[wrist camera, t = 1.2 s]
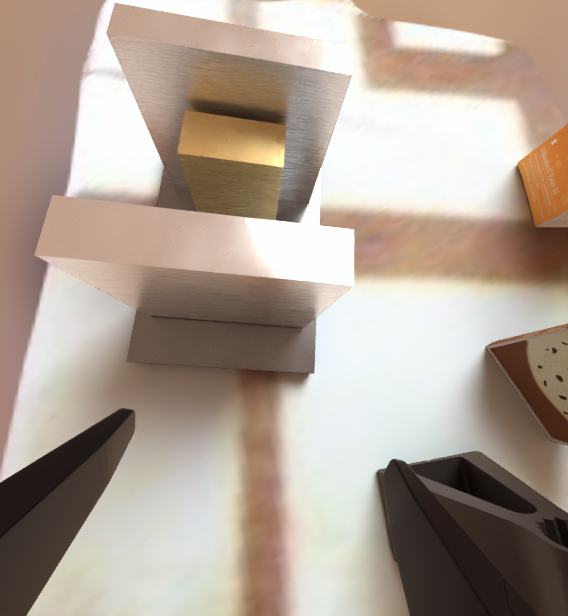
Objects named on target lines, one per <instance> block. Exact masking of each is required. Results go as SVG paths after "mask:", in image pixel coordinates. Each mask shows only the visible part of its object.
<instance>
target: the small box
mask: <svg viewBox="0 0 568 616" xmlns="http://www.w3.org/2000/svg"><path fill="white" fill-rule="evenodd" d="M518 167H519V170H520V173H521V176H522V179H523V183H524V187H525V190H526V193H527V197H528V201H529V204H530V208H531V212H532V215H533V219H534V226H535V227H568V124H567V125H566V126H564V127H563V128H562V129H560V130H559V131H558V132H557V133H555V134H554V135H553V136H551V137H550V138H549V139H548V140H546V141H545V142H544V143H543V144H541V145H540V146H539V147H537V148H536V149H535V150H534V151H532V152H531V153H530V154H528V155H527V156H526V157H524V158H523V159H522V160H521V161H519V162H518Z"/></svg>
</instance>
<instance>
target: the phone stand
mask: <svg viewBox="0 0 568 616" xmlns="http://www.w3.org/2000/svg"><path fill="white" fill-rule="evenodd" d="M407 465H408V466H409V467H410V468H411V469H412V470H413V472H414V473H415V474H416V475H417V476H418V477H419V478H420V480H421V481H422V482H423V483H424V484H425V485H426V487H427V488H428V489H429V490H430V491H431V492H432V493H433V495H434V496H435V497H436V498H437V499H438V500H439V501H440V503H441V504H442V505H443V506H444V507H445V508H446V510H447V511H448V512H449V513H450V514H451V515H452V516H453V518H454V519H455V520H456V521H457V522H458V523H459V525H460V526H461V527H462V528H463V529H464V530H465V531H466V533H467V534H468V535H469V536H470V537H471V538H472V540H473V541H474V542H475V543H476V544H477V545H478V546H479V548H480V549H481V550H482V551H483V552H484V553H485V555H486V556H487V557H488V558H489V559H490V560H491V561H492V563H493V564H494V565H495V566H496V567H497V568H498V570H499V571H500V572H501V573H502V575H503V577H505V578H506V579H507V580H508V581H509V582H510V583H511V584H512V586H513V587H514V588H515V589H516V590H517V591H518V592H519V594H520V595H521V596H522V597H523V598H524V599H525V600H526V601H527V603H528V604H529V605H530V606H531V607H532V608H533V609H534V610H535V612H536V613H537V614H538V615H539V616H568V513H567V512H565V511H563V510H562V509H560V508H559V507H557V506H556V505H555V504H553V503H552V502H550V501H549V500H547V499H546V498H545V497H543V496H542V495H540V494H539V493H538V492H536V491H535V490H533V489H532V488H531V487H529V486H528V485H526V484H525V483H524V482H522V481H521V480H519V479H518V478H516V477H515V476H514V475H512V474H511V473H509V472H508V471H507V470H505V469H504V468H502V467H501V466H500V465H498V464H497V463H495V462H494V461H493V460H491V459H490V458H488V457H487V456H486V455H484V454H483V453H481V452H477V451H474V452H469V453H463V454H458V455H453V456H448V457H442V458H437V459H432V460H430V461H421V462H416V463H411V464H407ZM385 470H386V468H384V469H380V470H378V472H379V478H380V483H381V489H382V494H383V500H384V505H385V511H386V516H387V522H388V527H389V521H388V514H387V507H386V500H385V493H384V486H383V474H384V471H385ZM389 533H390V538H391V544H392V549H393V555H394V560H395V561H396V562H397V558H396V554H395V550H394V546H393V541H392V537H391V532H390V527H389Z"/></svg>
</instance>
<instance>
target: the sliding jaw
mask: <svg viewBox="0 0 568 616" xmlns="http://www.w3.org/2000/svg"><path fill="white" fill-rule="evenodd" d="M35 256H37V257H39V258H41V259H43V260H45V261H47V262H48V263H50V264H52V265H54V266H56V267H58V268H60V269H62V270H63V271H65V272H67V273H69V274H71V275H73V276H75V277H77V278H79V279H80V280H82V281H84V282H86V283H88V284H90V285H92V286H94V287H95V288H97V289H99V290H101V291H103V292H105V293H107V294H109V295H110V296H112V297H114V298H116V299H118V300H120V301H122V302H124V303H126V304H127V305H129V306H131V307H133V308H135V309H137V310H139V311H141V312H142V313H144V314H146V315H150V316H162V317H175V318H187V319H200V320H213V321H225V322H238V323H251V324H263V325H276V326H288V327H301V328H304V327H306V326H307V325H308V324H309V323H310V322H312V321H313V320H314V319H315V318H316V317H317V316H319V315H320V314H321V313H322V312H323V311H324V310H326V309H327V308H328V307H329V306H330V305H332V304H333V303H334V302H335V301H336V300H337V299H339V298H340V297H341V296H342V295H343V294H344V293H346V292H347V291H348V290H349V289H350V288H352V287H353V286H354V230H350V229H342V228H333V227H324V226H316V225H307V224H298V223H290V222H281V221H273V220H264V219H255V218H247V217H238V216H229V215H221V214H212V213H203V212H195V211H186V210H177V209H169V208H160V207H151V206H143V205H134V204H125V203H117V202H108V201H99V200H91V199H82V198H73V197H65V196H56V195H52V198H51V202H50V205H49V208H48V211H47V215H46V218H45V222H44V225H43V229H42V232H41V235H40V238H39V242H38V245H37V249H36V252H35Z"/></svg>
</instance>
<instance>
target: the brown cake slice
mask: <svg viewBox="0 0 568 616" xmlns="http://www.w3.org/2000/svg"><path fill="white" fill-rule="evenodd" d="M486 348H487V349H488V351H489V352H490V354H491V355H492V357H493V358H494V360H495V361H496V363H497V364H498V365H499V367H500V368H501V370H502V371H503V373H504V374H505V376H506V377H507V378H508V380H509V381H510V383H511V384H512V386H513V387H514V389H515V390H516V392H517V393H518V394H519V396H520V397H521V399H522V400H523V402H524V403H525V405H526V406H527V407H528V409H529V410H530V412H531V413H532V415H533V416H534V418H535V419H536V421H537V422H538V423H539V425H540V426H541V428H542V429H543V431H544V432H545V434H546V435H547V436H548V438H549V439H550V441H554V442H557V443H560V444H564V445H567V446H568V324H564V325H560V326H556V327H552V328H548V329H544V330H540V331H536V332H532V333H528V334H523V335H519V336H515V337H511V338H507V339H503V340H499V341H496V342H493V343H491V344H489V345H488V346H486Z"/></svg>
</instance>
